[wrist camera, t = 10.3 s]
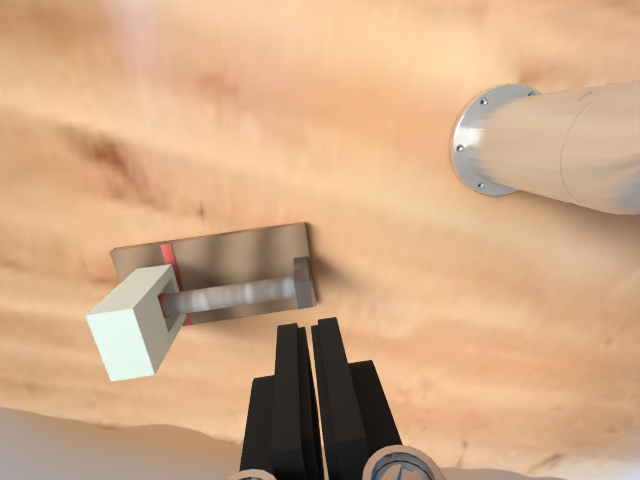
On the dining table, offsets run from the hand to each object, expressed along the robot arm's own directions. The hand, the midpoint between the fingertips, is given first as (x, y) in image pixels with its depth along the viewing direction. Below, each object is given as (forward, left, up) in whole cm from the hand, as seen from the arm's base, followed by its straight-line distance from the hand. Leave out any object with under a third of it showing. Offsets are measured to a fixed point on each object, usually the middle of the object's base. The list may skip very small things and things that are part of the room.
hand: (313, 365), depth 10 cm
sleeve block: (+17, +10, -29) cm, 35 cm away
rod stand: (+11, +10, -32) cm, 35 cm away
